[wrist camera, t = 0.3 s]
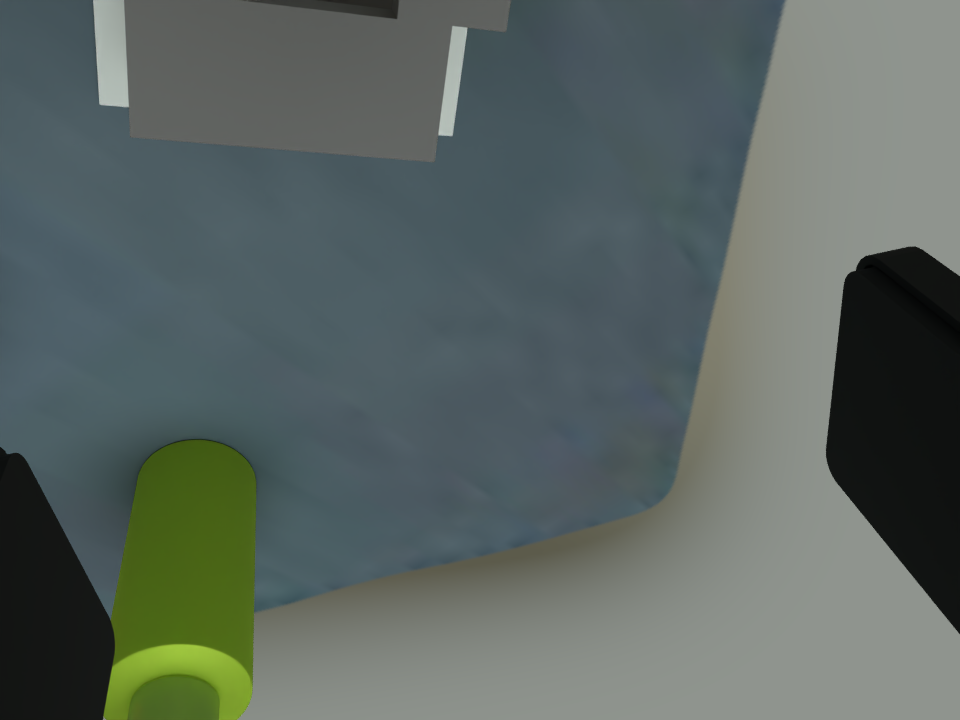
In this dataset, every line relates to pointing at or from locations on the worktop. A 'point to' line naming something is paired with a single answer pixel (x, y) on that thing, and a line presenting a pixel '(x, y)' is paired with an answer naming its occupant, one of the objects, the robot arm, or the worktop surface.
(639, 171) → the worktop surface
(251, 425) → the worktop surface
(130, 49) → the collar stand
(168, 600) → the soap dispenser
